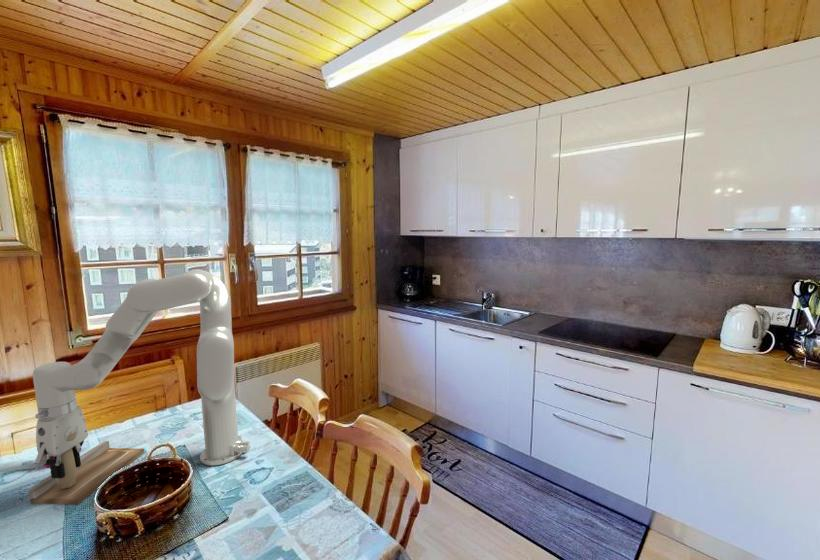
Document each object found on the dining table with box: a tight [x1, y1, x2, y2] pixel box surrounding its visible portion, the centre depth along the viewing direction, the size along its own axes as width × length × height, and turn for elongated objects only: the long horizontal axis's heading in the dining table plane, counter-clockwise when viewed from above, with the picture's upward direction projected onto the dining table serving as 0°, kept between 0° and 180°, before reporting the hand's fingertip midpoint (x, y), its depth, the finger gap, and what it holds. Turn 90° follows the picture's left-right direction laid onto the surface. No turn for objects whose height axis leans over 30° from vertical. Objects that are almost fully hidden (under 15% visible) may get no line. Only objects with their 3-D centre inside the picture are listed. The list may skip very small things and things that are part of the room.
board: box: [28, 440, 145, 505], centre depth 108 cm, size 13×23×4 cm, turn 178°
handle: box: [58, 432, 76, 489], centre depth 100 cm, size 5×6×15 cm
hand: (66, 471), depth 101 cm, fingers closed on handle, 3 cm apart
